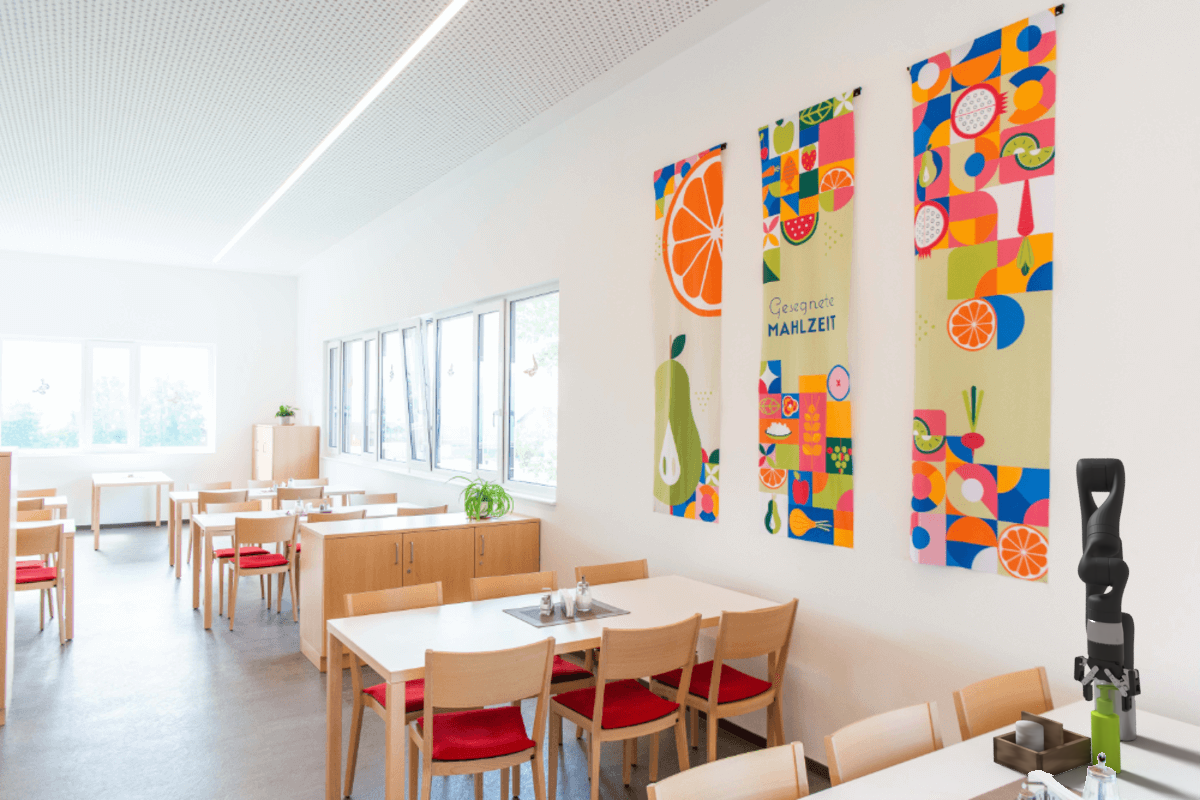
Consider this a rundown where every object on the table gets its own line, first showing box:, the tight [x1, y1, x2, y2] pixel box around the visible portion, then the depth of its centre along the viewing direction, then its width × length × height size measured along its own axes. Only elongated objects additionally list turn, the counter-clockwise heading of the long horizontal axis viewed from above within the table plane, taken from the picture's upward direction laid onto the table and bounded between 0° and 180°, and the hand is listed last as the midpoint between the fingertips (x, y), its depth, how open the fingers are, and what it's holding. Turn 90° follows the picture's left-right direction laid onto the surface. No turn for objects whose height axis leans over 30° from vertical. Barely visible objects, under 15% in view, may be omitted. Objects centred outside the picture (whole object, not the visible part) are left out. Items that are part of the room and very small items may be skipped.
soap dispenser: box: [1090, 685, 1122, 775], centre depth 188 cm, size 6×7×20 cm
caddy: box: [992, 710, 1092, 777], centre depth 191 cm, size 12×21×11 cm, turn 119°
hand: (1106, 705), depth 188 cm, fingers open, 8 cm apart
